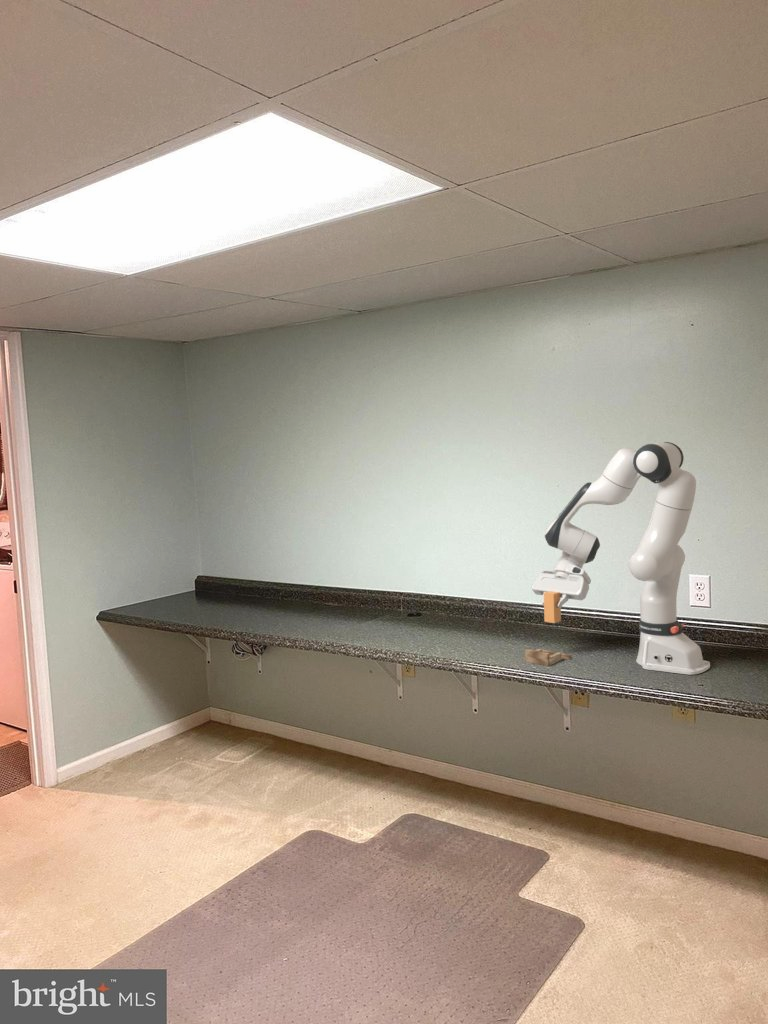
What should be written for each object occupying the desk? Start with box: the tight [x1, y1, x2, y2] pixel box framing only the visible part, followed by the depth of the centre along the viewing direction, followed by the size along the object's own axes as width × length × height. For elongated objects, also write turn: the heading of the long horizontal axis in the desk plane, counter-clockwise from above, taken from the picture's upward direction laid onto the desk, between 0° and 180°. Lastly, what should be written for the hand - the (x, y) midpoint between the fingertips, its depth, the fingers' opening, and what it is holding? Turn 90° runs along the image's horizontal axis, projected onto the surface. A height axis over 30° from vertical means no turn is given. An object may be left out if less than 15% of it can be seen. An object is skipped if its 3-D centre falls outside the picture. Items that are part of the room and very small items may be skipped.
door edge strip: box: [542, 649, 572, 661], centre depth 265 cm, size 12×2×1 cm, turn 45°
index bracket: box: [524, 648, 563, 667], centre depth 261 cm, size 9×8×4 cm
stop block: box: [543, 591, 562, 624], centre depth 265 cm, size 4×4×10 cm
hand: (551, 606), depth 264 cm, fingers closed on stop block, 4 cm apart
